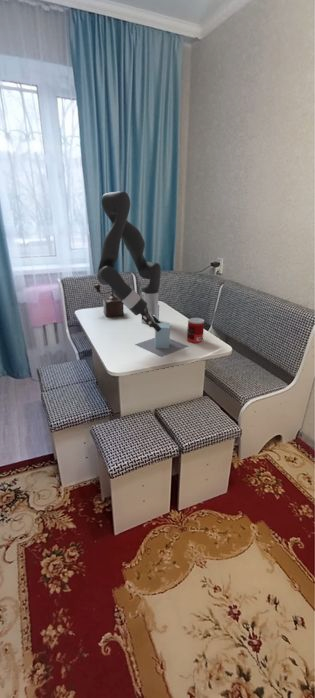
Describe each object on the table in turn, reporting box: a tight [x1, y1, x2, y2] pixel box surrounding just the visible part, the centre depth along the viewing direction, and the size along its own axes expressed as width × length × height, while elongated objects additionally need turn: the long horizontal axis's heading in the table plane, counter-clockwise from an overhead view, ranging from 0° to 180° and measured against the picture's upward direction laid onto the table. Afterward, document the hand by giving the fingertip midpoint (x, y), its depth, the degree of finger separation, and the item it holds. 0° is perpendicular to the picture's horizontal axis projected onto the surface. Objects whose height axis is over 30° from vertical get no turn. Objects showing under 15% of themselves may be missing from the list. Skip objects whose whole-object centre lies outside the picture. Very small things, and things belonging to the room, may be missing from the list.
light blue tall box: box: [154, 322, 171, 348], centre depth 148 cm, size 6×6×10 cm
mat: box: [135, 337, 189, 358], centre depth 150 cm, size 18×18×1 cm
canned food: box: [186, 317, 205, 344], centre depth 155 cm, size 8×8×11 cm
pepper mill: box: [93, 283, 124, 318], centre depth 189 cm, size 16×11×18 cm
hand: (159, 327), depth 146 cm, fingers open, 8 cm apart
